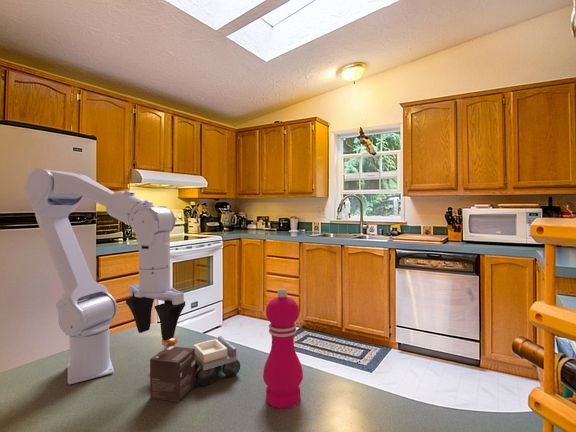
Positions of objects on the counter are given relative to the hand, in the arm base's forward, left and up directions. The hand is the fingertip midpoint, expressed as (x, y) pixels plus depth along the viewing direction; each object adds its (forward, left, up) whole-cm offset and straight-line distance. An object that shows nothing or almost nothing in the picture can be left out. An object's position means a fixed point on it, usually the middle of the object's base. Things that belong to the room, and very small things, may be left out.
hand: (155, 334), depth 64 cm
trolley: (+4, +10, -9) cm, 14 cm away
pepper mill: (+20, +17, -10) cm, 28 cm away
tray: (+4, +10, -5) cm, 12 cm away
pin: (-3, +3, -9) cm, 10 cm away
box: (+6, +2, -10) cm, 11 cm away
